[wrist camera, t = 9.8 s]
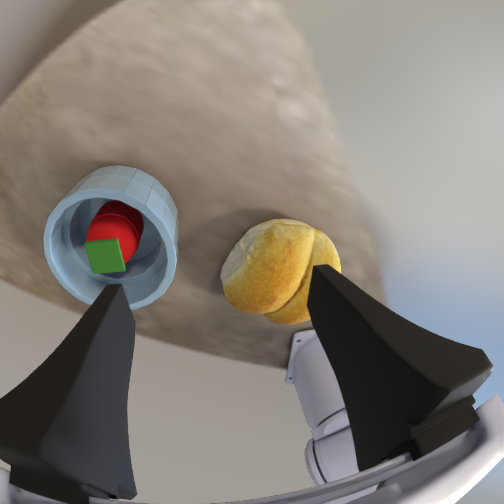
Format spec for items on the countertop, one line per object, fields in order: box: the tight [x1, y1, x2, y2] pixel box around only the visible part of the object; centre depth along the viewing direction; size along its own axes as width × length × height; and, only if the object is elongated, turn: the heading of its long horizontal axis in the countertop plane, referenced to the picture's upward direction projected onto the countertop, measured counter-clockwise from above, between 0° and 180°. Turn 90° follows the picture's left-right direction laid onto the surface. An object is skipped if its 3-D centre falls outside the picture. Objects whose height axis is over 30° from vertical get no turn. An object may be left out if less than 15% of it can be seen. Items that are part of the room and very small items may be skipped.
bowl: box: [43, 165, 179, 310], centre depth 16 cm, size 8×8×4 cm
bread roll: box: [220, 219, 341, 325], centre depth 21 cm, size 8×9×4 cm
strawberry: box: [84, 200, 144, 274], centre depth 16 cm, size 3×3×4 cm
